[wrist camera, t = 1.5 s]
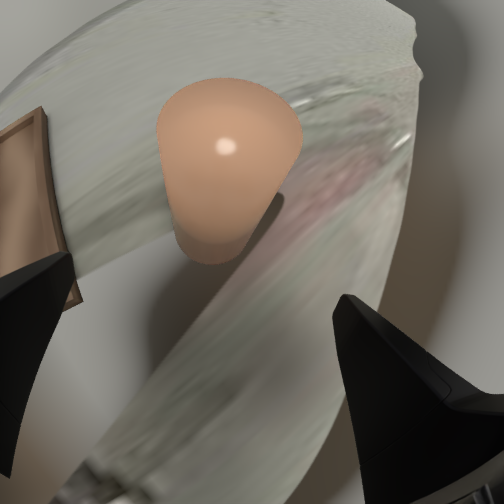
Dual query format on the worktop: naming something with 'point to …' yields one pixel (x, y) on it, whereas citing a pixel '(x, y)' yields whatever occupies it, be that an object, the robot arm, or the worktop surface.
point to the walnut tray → (29, 198)
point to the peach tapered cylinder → (224, 162)
